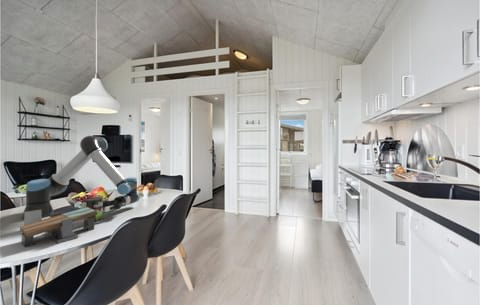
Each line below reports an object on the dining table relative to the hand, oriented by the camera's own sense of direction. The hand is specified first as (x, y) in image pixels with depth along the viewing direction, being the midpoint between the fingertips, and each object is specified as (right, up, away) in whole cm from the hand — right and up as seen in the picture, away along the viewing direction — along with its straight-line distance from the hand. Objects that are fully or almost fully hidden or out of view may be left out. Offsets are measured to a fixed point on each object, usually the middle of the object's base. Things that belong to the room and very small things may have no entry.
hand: (95, 208), depth 135 cm
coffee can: (-1, -8, -1) cm, 8 cm away
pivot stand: (-2, -8, -23) cm, 25 cm away
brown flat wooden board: (-2, -1, -23) cm, 24 cm away
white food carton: (-25, -7, -14) cm, 30 cm away
